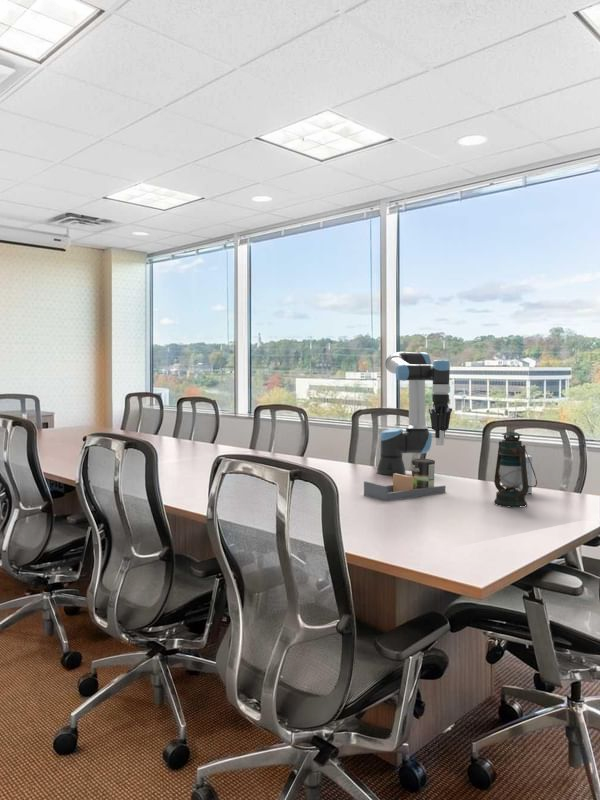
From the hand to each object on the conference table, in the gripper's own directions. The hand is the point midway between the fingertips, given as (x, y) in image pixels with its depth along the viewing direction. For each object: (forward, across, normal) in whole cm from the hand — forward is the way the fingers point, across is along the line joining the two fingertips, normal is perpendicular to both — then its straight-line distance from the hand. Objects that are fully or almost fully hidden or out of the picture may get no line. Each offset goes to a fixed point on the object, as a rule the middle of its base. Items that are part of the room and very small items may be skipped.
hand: (439, 444), depth 284 cm
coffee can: (+21, +10, 0) cm, 23 cm away
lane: (+20, +20, 0) cm, 29 cm away
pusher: (+20, +22, 0) cm, 30 cm away
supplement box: (+21, -26, +24) cm, 41 cm away
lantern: (+21, -2, +39) cm, 44 cm away
